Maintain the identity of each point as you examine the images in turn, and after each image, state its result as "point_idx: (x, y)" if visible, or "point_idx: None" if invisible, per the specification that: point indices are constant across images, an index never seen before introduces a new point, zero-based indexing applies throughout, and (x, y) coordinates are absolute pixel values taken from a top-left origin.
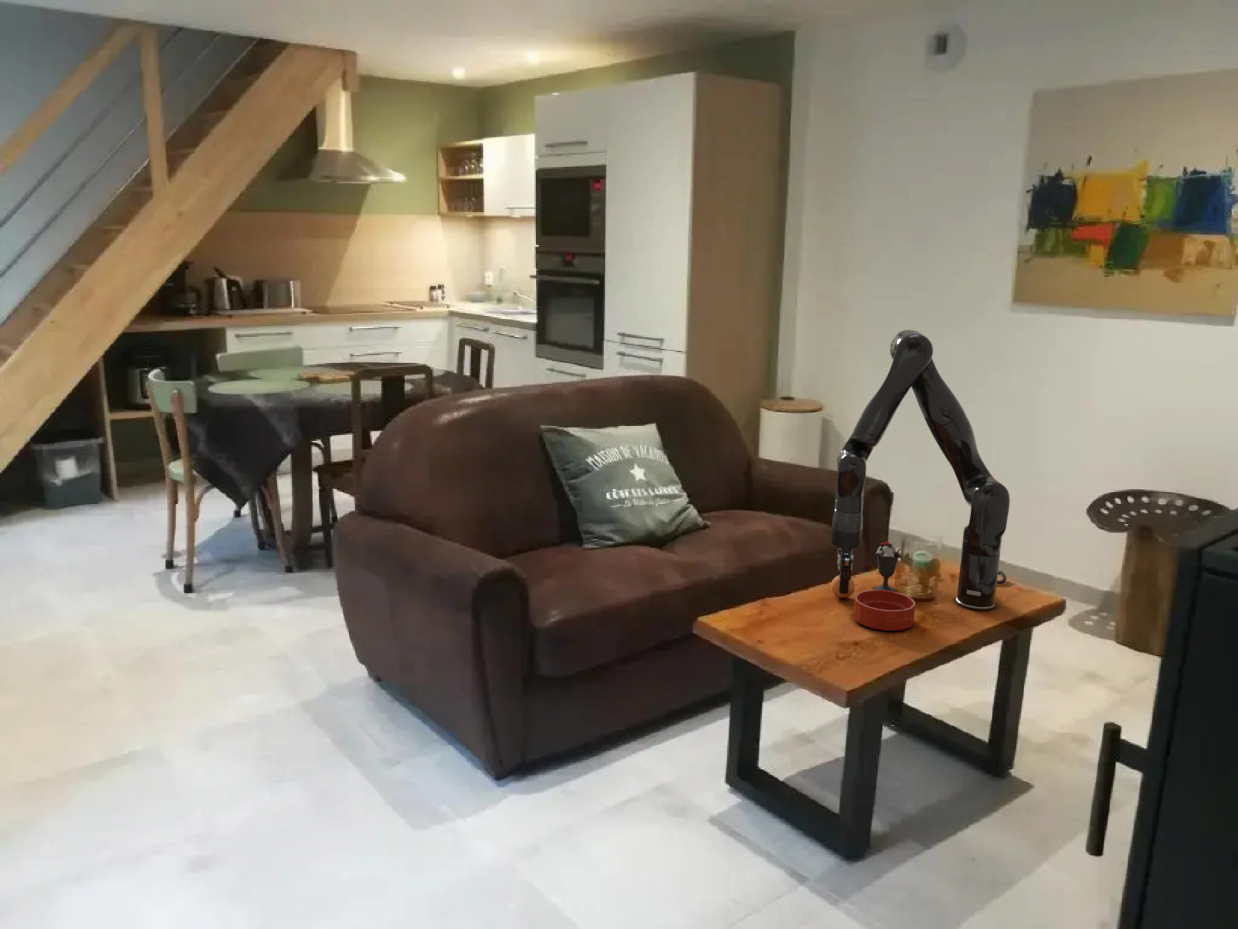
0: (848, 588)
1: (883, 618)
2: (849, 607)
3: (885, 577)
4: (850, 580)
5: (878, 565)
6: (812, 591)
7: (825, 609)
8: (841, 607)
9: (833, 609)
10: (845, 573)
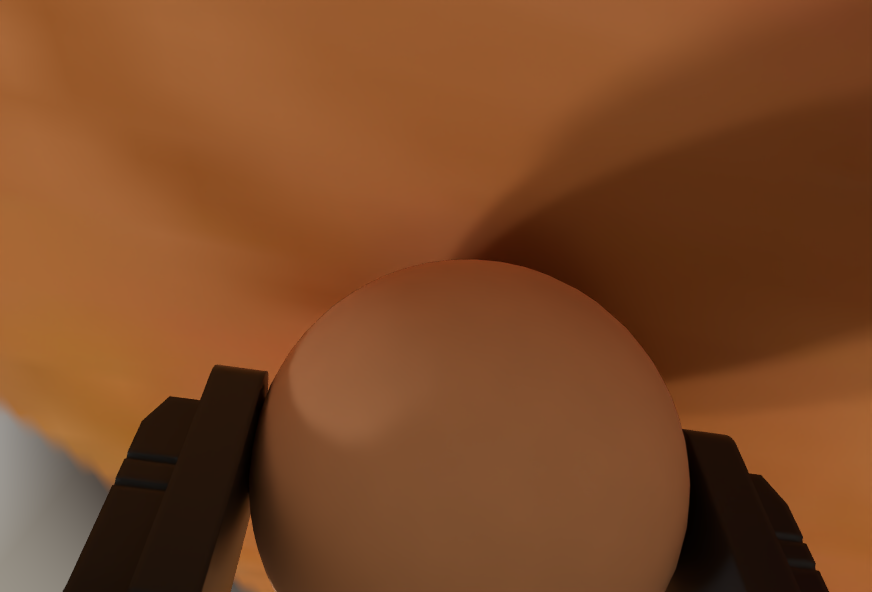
0: (685, 464)
1: None
2: (847, 324)
3: None
4: (607, 532)
5: None
6: (258, 572)
7: (826, 558)
8: (816, 411)
9: (852, 496)
10: (208, 580)
